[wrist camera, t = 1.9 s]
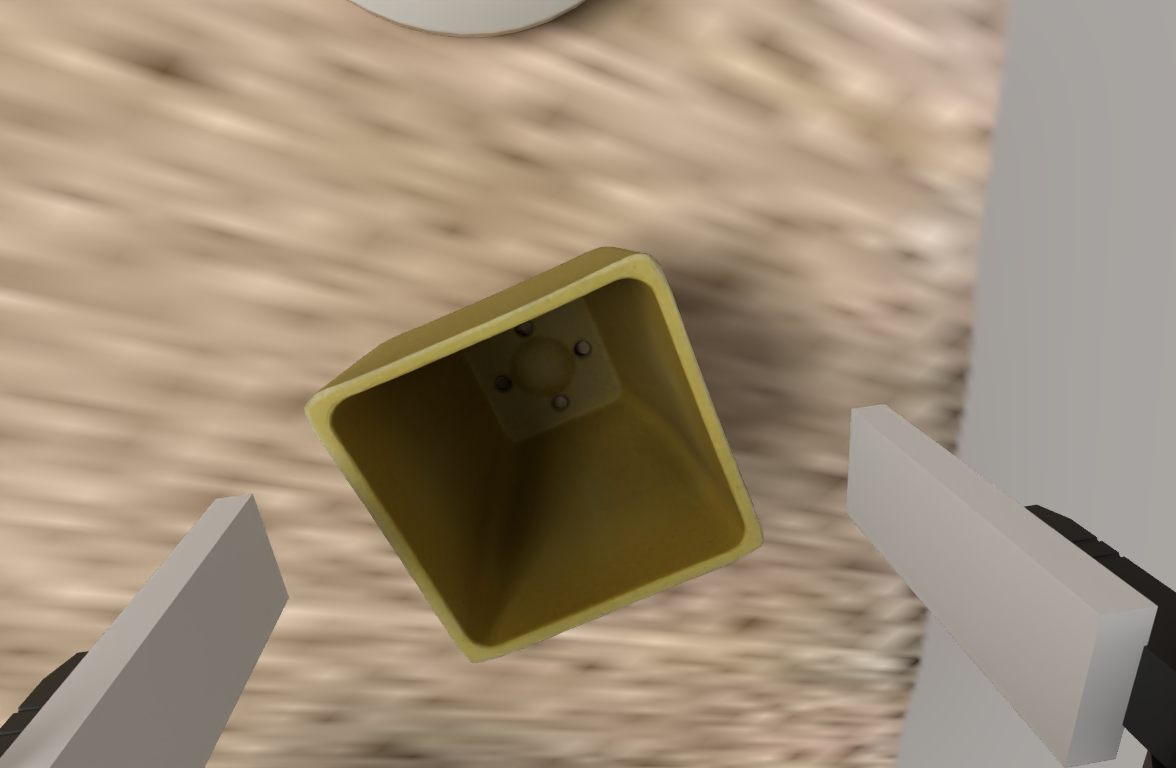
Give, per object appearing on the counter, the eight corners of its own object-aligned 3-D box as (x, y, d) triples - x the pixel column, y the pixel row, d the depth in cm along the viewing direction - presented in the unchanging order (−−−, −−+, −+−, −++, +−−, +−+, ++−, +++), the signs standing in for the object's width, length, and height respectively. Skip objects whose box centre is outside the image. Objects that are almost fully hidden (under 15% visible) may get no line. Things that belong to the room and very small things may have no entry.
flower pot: (484, 503, 26) (470, 675, 17) (374, 309, 23) (292, 406, 14) (686, 416, 25) (770, 549, 17) (602, 207, 22) (656, 244, 14)
